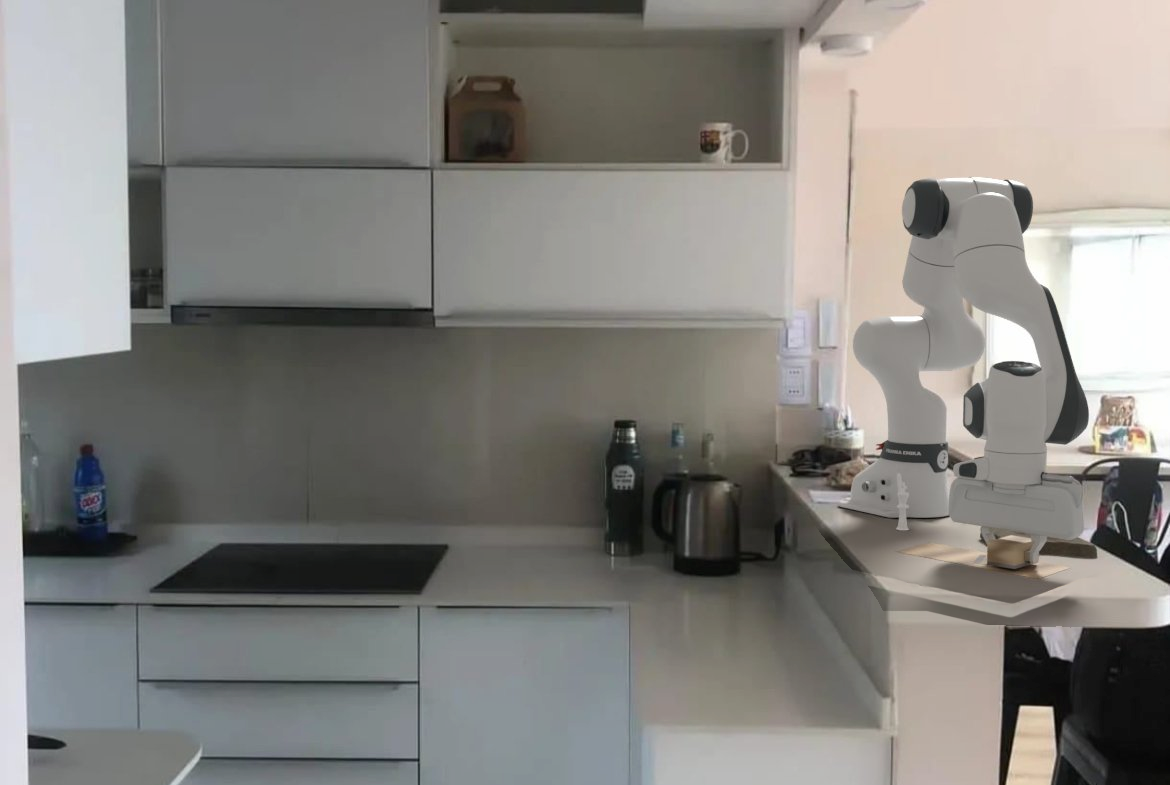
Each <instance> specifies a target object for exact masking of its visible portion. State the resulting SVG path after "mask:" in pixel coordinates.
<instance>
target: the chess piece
mask: <svg viewBox="0 0 1170 785" xmlns="http://www.w3.org/2000/svg"><path fill="white" fill-rule="evenodd" d="M899 488H901V492H898V493H897V495H898V498H899V501H900V505H897V508H900V515H899V518H898V522H897V524H898V525H897V527H896V528H895V529H896V531H901V532H906V531H909V530H910V528H909V527H908V522H907V517H906V508H909V506H908V505H906V502H907V499H908V496H909V493H908V492H905V489H907V486H905V482H902V483H901V485H899Z"/></svg>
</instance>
